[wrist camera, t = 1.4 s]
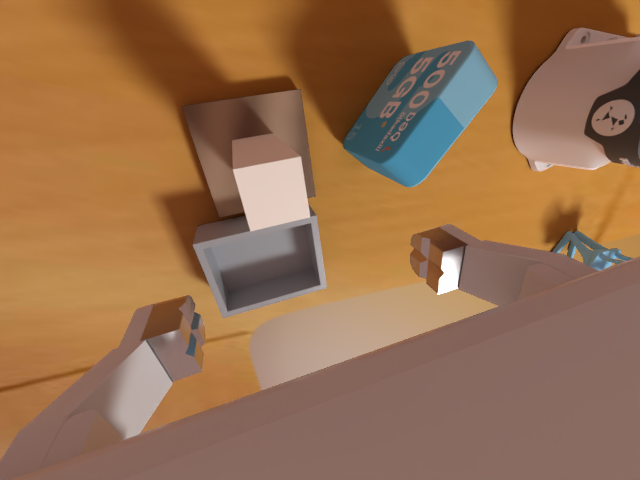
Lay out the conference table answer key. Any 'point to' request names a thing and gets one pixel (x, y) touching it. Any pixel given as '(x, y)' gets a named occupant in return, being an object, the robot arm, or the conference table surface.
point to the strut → (269, 181)
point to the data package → (421, 111)
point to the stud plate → (242, 122)
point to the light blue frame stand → (595, 258)
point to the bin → (259, 262)
